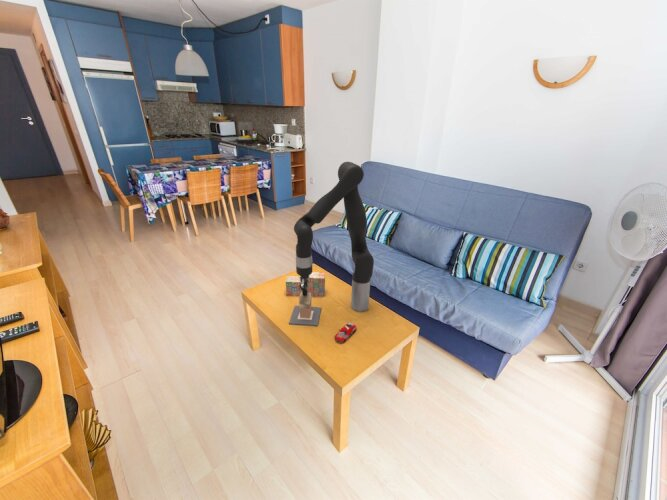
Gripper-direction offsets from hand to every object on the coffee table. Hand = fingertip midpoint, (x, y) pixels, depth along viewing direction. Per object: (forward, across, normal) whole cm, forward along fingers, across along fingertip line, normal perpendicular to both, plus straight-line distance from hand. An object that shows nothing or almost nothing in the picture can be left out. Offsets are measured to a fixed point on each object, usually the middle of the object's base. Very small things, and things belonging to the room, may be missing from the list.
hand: (305, 294), depth 145 cm
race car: (+14, -11, -21) cm, 27 cm away
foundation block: (+12, 0, 0) cm, 12 cm away
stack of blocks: (+14, +20, +3) cm, 25 cm away
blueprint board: (+13, 0, 0) cm, 13 cm away
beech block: (+6, 0, 0) cm, 6 cm away
